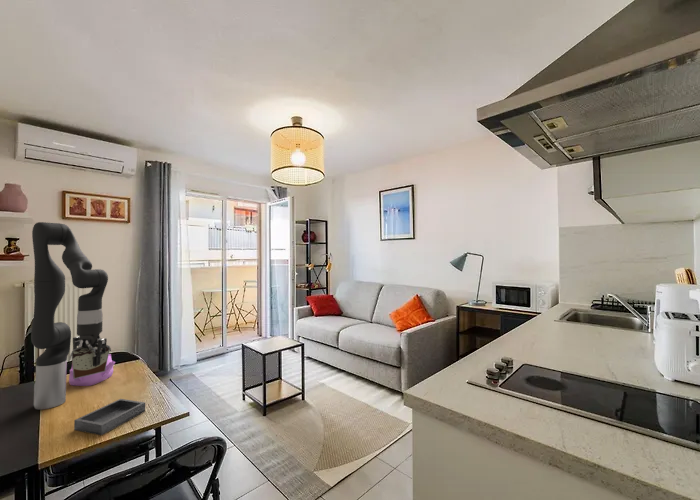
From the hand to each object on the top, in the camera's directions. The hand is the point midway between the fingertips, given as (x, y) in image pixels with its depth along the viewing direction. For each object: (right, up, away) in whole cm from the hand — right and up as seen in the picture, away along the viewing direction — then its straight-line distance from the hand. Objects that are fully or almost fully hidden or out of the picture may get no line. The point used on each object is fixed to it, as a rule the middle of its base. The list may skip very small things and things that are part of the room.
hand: (89, 364), depth 118 cm
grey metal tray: (+10, -20, -2) cm, 23 cm away
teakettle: (-27, -21, +34) cm, 48 cm away
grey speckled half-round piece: (-1, -3, +1) cm, 4 cm away
